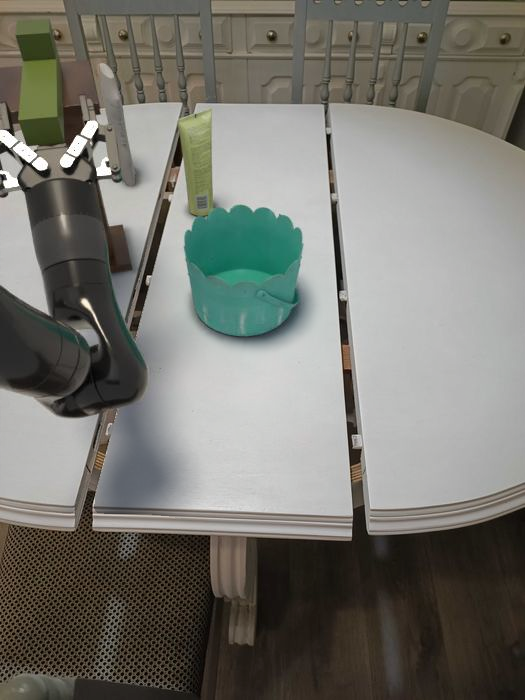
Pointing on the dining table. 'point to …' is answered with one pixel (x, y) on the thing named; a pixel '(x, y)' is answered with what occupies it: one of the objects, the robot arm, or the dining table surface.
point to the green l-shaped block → (40, 84)
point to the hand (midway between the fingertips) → (44, 102)
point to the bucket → (243, 269)
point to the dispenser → (117, 122)
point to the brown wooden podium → (72, 135)
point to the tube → (198, 160)
